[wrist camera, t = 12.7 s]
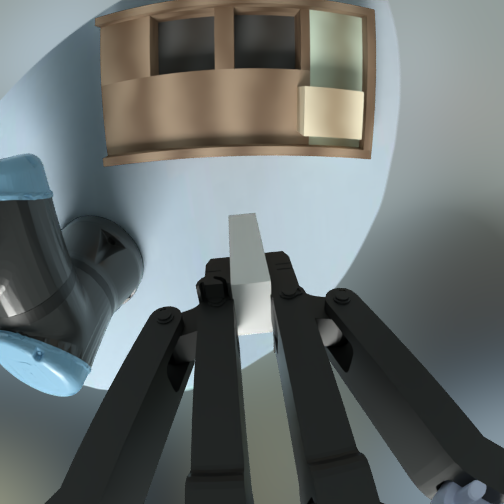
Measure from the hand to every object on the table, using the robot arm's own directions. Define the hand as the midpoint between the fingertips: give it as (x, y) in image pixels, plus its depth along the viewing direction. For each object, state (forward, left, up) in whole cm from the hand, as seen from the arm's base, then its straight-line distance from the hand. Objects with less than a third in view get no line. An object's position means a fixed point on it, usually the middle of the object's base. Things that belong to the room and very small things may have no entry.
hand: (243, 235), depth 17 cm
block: (+9, +6, -17) cm, 20 cm away
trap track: (-1, +10, -21) cm, 24 cm away
